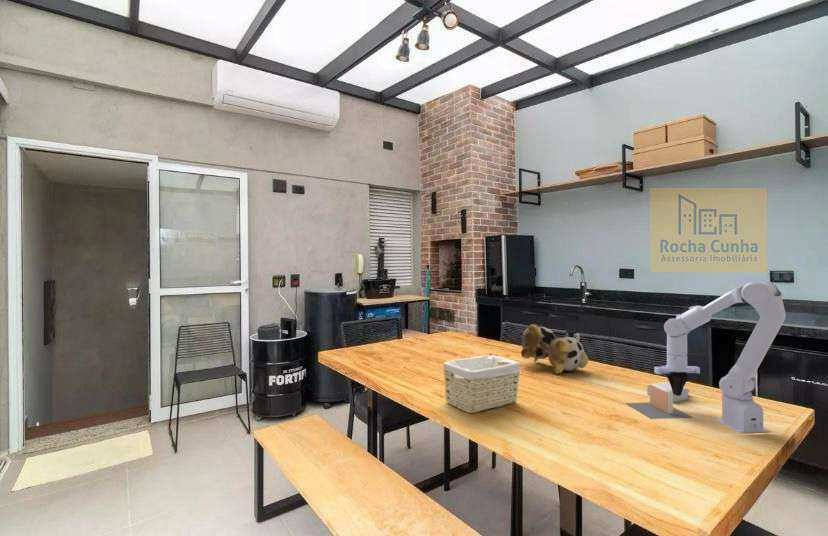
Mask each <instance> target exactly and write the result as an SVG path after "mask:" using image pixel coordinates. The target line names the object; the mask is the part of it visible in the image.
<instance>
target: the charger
mask: <svg viewBox="0 0 828 536" xmlns="http://www.w3.org/2000/svg"><path fill="white" fill-rule="evenodd" d="M655 384H656V385H658V386H661V387H663V388H665V389H667V390H669V391H672V388H671V385H670V382H669V381H668V382H667V381H662V382H656V383H655ZM646 388H647V390H646V391H647V393H646V396H648V397H650V384H647V387H646ZM672 392H673V391H672ZM689 393H690V389H689V388H688V387H686V386H684V387H683V390H682V393H681V396H677V395H674V394H673V404H674V403H678V402H682V401H686V400H689Z"/></svg>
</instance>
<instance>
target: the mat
mask: <svg viewBox="0 0 828 536" xmlns="http://www.w3.org/2000/svg"><path fill="white" fill-rule="evenodd" d="M624 404H625V405H626V406H629V407H630V408H632V409H633V410H635V411H637V412H639V413H640V414H642V415H644V416H645V417H647V418H649V419H650V420H655V419H656V420H657V419H661V420H662V419H685V418H686V419H690V418H694V416H691V415H690V414H688V413H686V412H683V411H681V410H679V409H677V408H676V407H674V406H673V414H668V413H666V412H664V411H662V410H660V409H658V408H656V407H655V406H653V405H651V404H650V401H649V402H647V401H646V402H624Z"/></svg>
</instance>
